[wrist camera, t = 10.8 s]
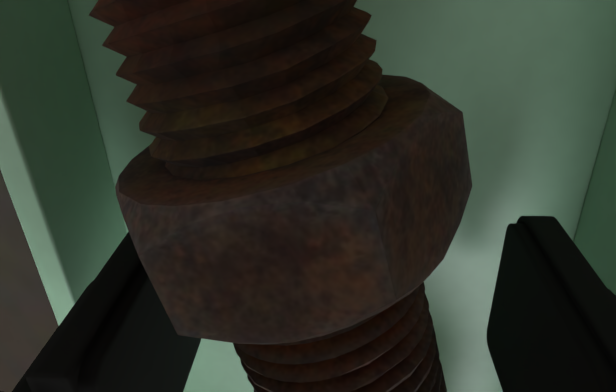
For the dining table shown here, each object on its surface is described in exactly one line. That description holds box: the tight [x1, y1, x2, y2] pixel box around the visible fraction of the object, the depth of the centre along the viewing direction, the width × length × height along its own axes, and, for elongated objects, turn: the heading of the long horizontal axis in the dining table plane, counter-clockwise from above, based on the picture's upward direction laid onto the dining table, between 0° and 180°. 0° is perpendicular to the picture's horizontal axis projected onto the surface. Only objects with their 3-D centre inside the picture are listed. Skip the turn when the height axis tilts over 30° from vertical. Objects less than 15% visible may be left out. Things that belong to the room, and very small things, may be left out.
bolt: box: [89, 0, 472, 392], centre depth 8 cm, size 6×5×15 cm
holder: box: [0, 0, 616, 392], centre depth 10 cm, size 11×18×3 cm, turn 2°
